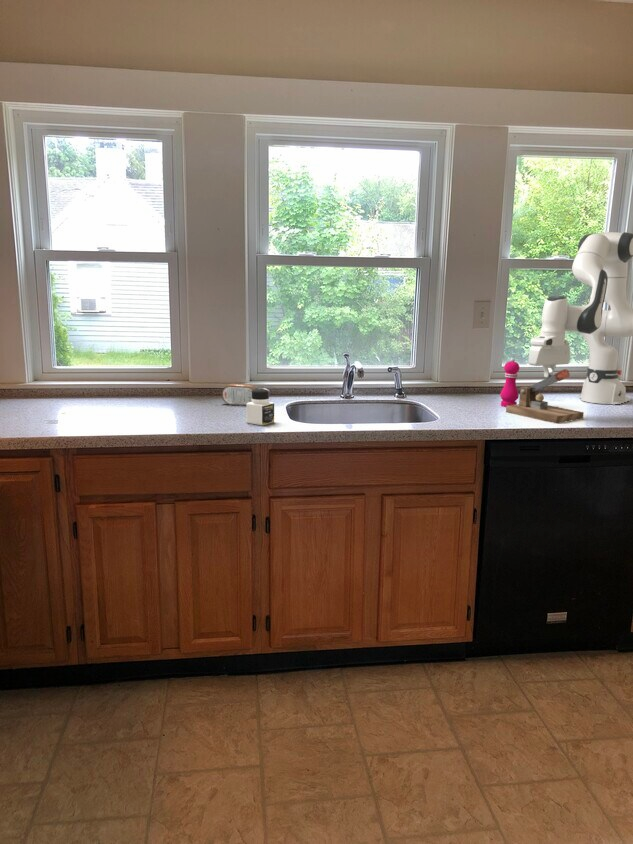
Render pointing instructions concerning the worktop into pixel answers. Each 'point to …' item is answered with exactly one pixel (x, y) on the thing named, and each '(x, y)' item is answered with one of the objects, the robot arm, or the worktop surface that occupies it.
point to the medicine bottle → (260, 408)
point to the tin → (237, 394)
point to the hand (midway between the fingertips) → (548, 376)
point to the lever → (549, 380)
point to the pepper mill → (510, 384)
